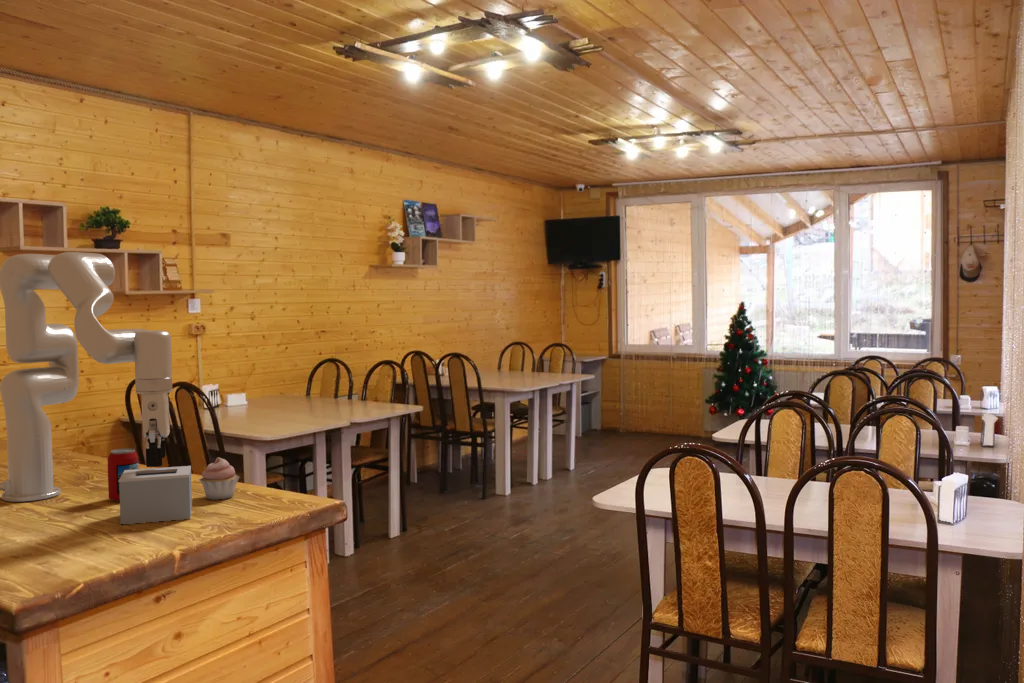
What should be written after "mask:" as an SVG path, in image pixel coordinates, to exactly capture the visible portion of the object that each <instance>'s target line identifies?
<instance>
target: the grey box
mask: <svg viewBox="0 0 1024 683" xmlns="http://www.w3.org/2000/svg"><path fill="white" fill-rule="evenodd" d="M119 490H120V502H119V517H120V518H119V520H120V521H119V522H120V525H121V524H130V525H134V524H133V523H141V524H145V523H144V522H153V523H160V522H159V521H164V522H172V521H171V520H176V521H184V519H187V520H191V518H190V517H192V512H191V511H193V495H192V494H193V491H192V490H193V488H192V465H187V466H186V465H181V466H170V467H166V466H165V467H149V468H138V469H135V470H124V472H123V474H122V476H121V477H120V479H119Z"/></svg>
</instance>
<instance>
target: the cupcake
mask: <svg viewBox="0 0 1024 683" xmlns="http://www.w3.org/2000/svg"><path fill="white" fill-rule="evenodd" d="M235 470H236V469H235V468H234V466H232V465H230V463H229V462H228V460H226V459H225V458H221V457H216V459H215V461H214V462H211V463H209V464H208V465H207V466H206V468H205V469H204V470H203V471H202V474H201V478H199V479H198V481H199V482H200V483H201V485H202V488H203V490H204V493H205V494H204V495H205V497H206V499H208V500H210V499H211V501H220V500H219V499H223V500H227V498H228V499H230V497H231V498H233V497H232V496H234V495H235V490H236V487H237V483H238V481H239V479H240V476H239V475H237V474H236V471H235Z"/></svg>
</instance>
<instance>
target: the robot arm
mask: <svg viewBox="0 0 1024 683" xmlns="http://www.w3.org/2000/svg"><path fill="white" fill-rule="evenodd" d="M115 277H116V269H115V266H114V263H113V262H112V261H111V259H110V258H108V256H106V255H104V254H101V253H96V252H95V253H94V252H79V251H68V252H67V251H65V252H62V253H57V254H44V253H43V254H42V253H22V254H15V255H12V256H9V257H8V258H7V259H5V260H4V261H3V263H2V264H1V266H0V293H1V296H2V299H3V304H4V318H5V321H4V324H5V327H4V328H5V346H6V353H7V356H8V358H9V359H10V360H11V361H12V362H15V363H17V364H32V363H33V364H34V363H46V362H47V363H48V367H47V366H44V367H31V368H21V369H15V370H12V371H9V372H8V373H7V374H5V375H4V376H3V377H2V379H1V381H0V396H1V397H0V398H1V401H2V405H3V406H2V407H3V409H4V416H5V426H6V428H5V429H6V430H5V431H6V453H7V476H8V477H7V479H6V480H3V481H0V491H3V493H1V500H2V501H5V502H12V503H15V502H16V503H18V502H19V503H20V502H33V501H39V500H45V499H50V498H53V497H56V496H58V495H60V494H61V493H62V492H61V490H62V489H61V488H60V487H59V486H54V469H53V468H54V466H53V441H52V440H53V439H52V438H53V437H52V434H53V433H52V423H51V420H50V418H49V416H48V415H47V414H46V413H45V411H44V410H43V408H42V407H44V406H51V405H59V404H65V403H69V402H71V401H72V400H73V399H74V398H76V396H77V393H78V391H79V378H80V376H79V375H80V374H79V348H78V347H79V346H78V342H79V344H80V345H81V347H82V348H83V349H84V351H86V353H87V354H88V355H89V357H90V358H92V359H93V360H94V361H95V362H97V363H100V364H103V365H104V364H105V365H113V364H122V363H123V364H124V363H125V364H126V363H134V374H135V375H134V378H135V380H134V381H135V382H134V384H135V386H134V387H135V394H137V395H141V417H142V420H141V421H142V432H143V433H142V434H143V438H145V439H146V444H145V445H146V448H145V466H146V467H147V468H158V467H162V466H163V459H164V458H166V439H165V438H168V436H169V435H170V432H171V430H170V428H171V427H170V425H171V424H170V403H169V393H172V392H173V366H172V365H173V363H172V361H173V359H172V337H171V334H170V333H169V331H167V330H158V329H157V330H154V329H152V330H151V329H150V330H149V329H144V328H119V329H118V328H115V329H114V328H113V329H105V327H104V326H102V324H101V323H100V322H99V321H98V319H97V318H98V317H99V318H100V317H101V316H102V315H103V314H105V313H106V312H107V311H108V310H110V308H111V307H112V305H113V303H114V300H115V299H114V293H113V292H112V291H111V289H110V288H109V286H111V285H112V284H113V282H114V280H115ZM35 290H53V291H54V290H55V291H56V290H59V291H61V292H62V294H63V295H64V296H65V297H66V299H67V300H68V301H69V303H70V304H71V305H72V306H73V308H74V309H75V310H76V313H75V315H74V323H73V326H74V331H73V329H72V328H70V327H69V326H68V325H66V324H64V323H47V322H46V321H47V318H46V307H45V303H44V301H43V300H42V298H41V297H40V295H39V294H38V293H37V291H35Z"/></svg>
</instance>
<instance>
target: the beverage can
mask: <svg viewBox="0 0 1024 683" xmlns="http://www.w3.org/2000/svg"><path fill="white" fill-rule="evenodd" d="M135 469H139V456H138V454H137V451H136V450H135V448H131V447H130V448H128V447H127V448H126V447H125V448H116V449H112V450H111V451H110V453H109V455H108V457H107V486H108V487H107V488H108V489H107V490H108V499H110V500H112V501H113V502H116V501H120V490H119V479H120V477H121V476H122V474H123V472H124V470H135Z"/></svg>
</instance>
